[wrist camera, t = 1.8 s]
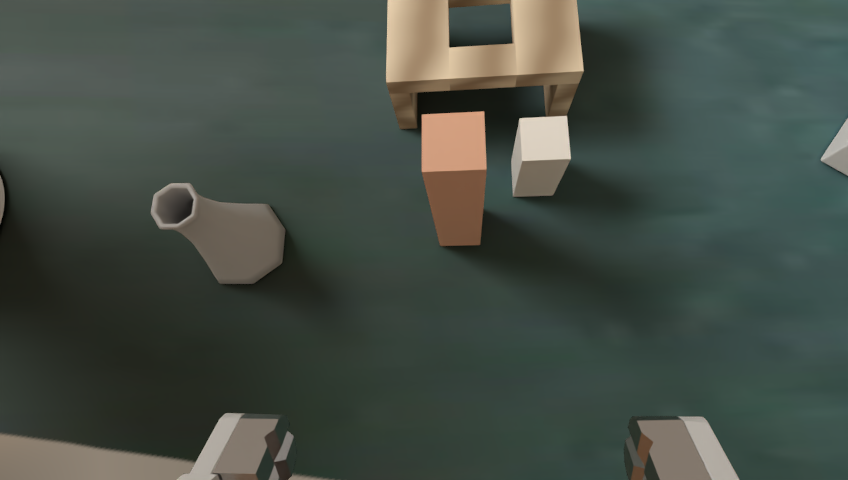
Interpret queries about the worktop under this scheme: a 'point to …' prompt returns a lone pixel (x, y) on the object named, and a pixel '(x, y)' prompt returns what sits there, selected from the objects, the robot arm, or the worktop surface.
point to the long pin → (455, 174)
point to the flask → (223, 232)
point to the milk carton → (838, 151)
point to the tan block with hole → (482, 53)
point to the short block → (540, 155)
